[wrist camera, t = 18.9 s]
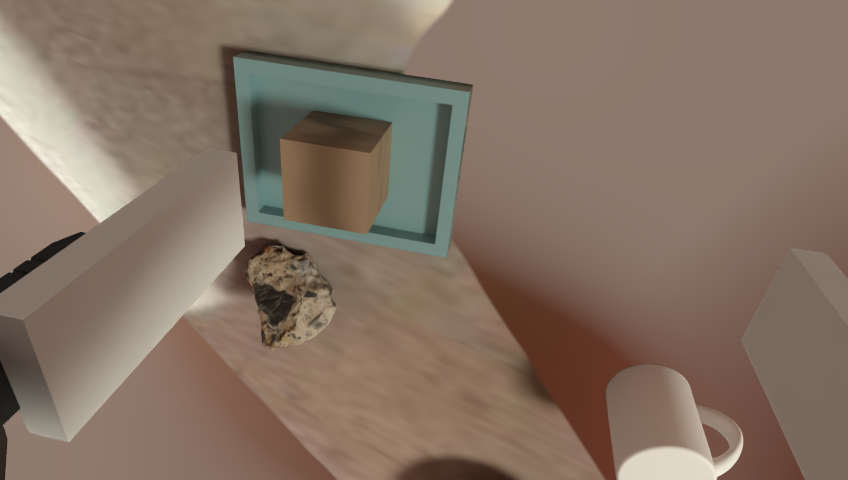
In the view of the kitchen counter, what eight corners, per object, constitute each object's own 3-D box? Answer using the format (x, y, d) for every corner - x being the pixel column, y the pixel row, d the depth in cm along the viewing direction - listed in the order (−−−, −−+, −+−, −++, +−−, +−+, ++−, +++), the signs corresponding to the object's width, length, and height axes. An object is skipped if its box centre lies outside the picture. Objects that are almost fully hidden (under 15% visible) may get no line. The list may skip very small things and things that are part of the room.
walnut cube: (314, 183, 51) (283, 219, 45) (313, 110, 47) (279, 138, 41) (387, 196, 50) (366, 234, 44) (392, 122, 46) (370, 153, 40)
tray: (257, 210, 54) (247, 221, 52) (245, 50, 46) (232, 56, 44) (450, 245, 52) (446, 257, 50) (472, 84, 44) (469, 92, 42)
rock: (236, 303, 59) (280, 373, 55) (211, 268, 53) (259, 342, 49) (306, 260, 62) (354, 322, 57) (290, 222, 56) (343, 288, 51)
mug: (626, 440, 47) (779, 464, 45) (613, 357, 55) (740, 374, 54) (608, 500, 51) (746, 523, 49) (598, 414, 60) (716, 431, 58)
